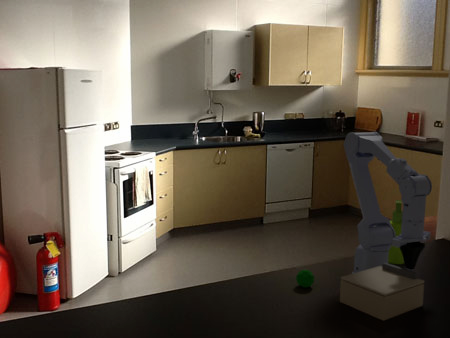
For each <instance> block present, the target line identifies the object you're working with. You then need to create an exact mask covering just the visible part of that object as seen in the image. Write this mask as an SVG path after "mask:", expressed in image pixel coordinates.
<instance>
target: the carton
mask: <svg viewBox="0 0 450 338" xmlns="http://www.w3.org/2000/svg"><path fill="white" fill-rule="evenodd" d="M339 288H340V289H339V290H340V292H339V302H340V303H342V304H345V305H347V306H349V307H352V308H353V309H355V310H358V311H360V312H362V313H364V314H368V315H369V316H372V317H374V318H377V319H379V320H381V321H386V320H389V319H391V318H395V317H397V316H400V315H402V314H405V313H408V312H410V311H412V310H415V309H418V308H420V307H423V304H424V291H425V283H422V284H419V285H416V286H413V287H410V288H407V289H404V290H401V291H398V292H395V293H392V294H390V295H387V296H384V295H381V294H379V293H376V292H373V291H371V290H368V289H366V288H363V287H361V286H358V285H355V284H353V283H350V282H348V281H345V280H342V279H340V286H339Z"/></svg>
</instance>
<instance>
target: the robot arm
mask: <svg viewBox="0 0 450 338" xmlns="http://www.w3.org/2000/svg"><path fill="white" fill-rule="evenodd" d="M345 136H346V137H345V140H344V142H343V147H344V152H345V155H346V159H347V162H348V165H349V168H350V169H349V170H350V172H351V176H352V181H353V185H354V188H355V192H356V196H357V199H358V203H359V207H360V210H361V214H362V215H361V216H362V219H361V220H360V221H359V223H358V224H357V226H356V227H357V239H358V242H359V245H358V246H357V247H356V249H355V251H354V262H353V263H354V264H353V271H351V274H353V273H357V272H360V271H364V270H367V269H371V268H374V267H378V266H382V265H383V263H388V254H389V249H391V245H392V246H394V247H397V248H400V250H401V252H402V255H403V259H404V263H403V264H404V269H407V270H410V271H412V270H415V268H416V266H417V263H418V260H419V257H420V254H422V251H423V250H424V249H425V247H426V244H425V243H424V242H427V241H428V240H431V236H432V235H431V234H432V233H431V232H430V231H426V230H425V218H426V217H425V216H426V207H427V206H426V204H427V196H429V195H430V194H431V192H432V188H433V183H432V181H431V179H430V178H429V177H428V175H426V174H420V173H418V171H417V170H416V169H414V168H413V167H412V166H411V165H410V164H409V163H408V160H406V159H405V158H402V157H401V158H400V157H396V156H395V155H394V154H393V152H392V151H391V150H390V149H389V148H388V146H387V145H386V144H385V143H384V138H383V136H381V135H380V134H379V132H377V131H372V132H353V131H352V132H348V133H347V135H345ZM374 158H376V159H378V161H380V163H382V164H383V165H384V166H386V173H387V174H388V175H389V177H390V178H391V179H392V180H393V181H395V183H396V184H397V185H398V190H399V193H400V195H401V196H400V197H401V199H400V200H401V201H402V226H401V234H400V235H399V236H397V237H396V233H395V230H394V229H393V227H392V226H391V223H390V221H391V219H389V218H388V217H387V216H385V215H384V214H382V212H381V208H380V205H379V201H378V197H377V195H376V190H375V186H374V183H373V179H372V176H371V173H370V168H369V164H370V162H372V161H373V160H374ZM388 264H389V263H388Z"/></svg>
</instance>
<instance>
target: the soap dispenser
mask: <svg viewBox="0 0 450 338" xmlns="http://www.w3.org/2000/svg"><path fill="white" fill-rule="evenodd" d="M402 206H403V203H402V200H401V199H400V200H398V199H396V200H395V210H393V211H392V217H391V218H392V219H390V223H391V226H392V227H393V229H394V230H395V233H396V237H397V236H399V235H400V234H401V226H402V212H403V210H402ZM388 264H391V265H403V264H404V259H403V255H402V252H401V250H400V248H397V247H394V246H392V245H391V249H389V254H388Z"/></svg>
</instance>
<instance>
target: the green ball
mask: <svg viewBox="0 0 450 338" xmlns="http://www.w3.org/2000/svg"><path fill="white" fill-rule="evenodd" d="M295 279H296V281H295V282H296V283H297V284H298V286H300V287H301V288H303V289H306V288H310V287H312V285H313V283H314V282H315V275H314V274H313V272H312V271H311V270H308V269H302V270H299V271H298V273H296V276H295Z"/></svg>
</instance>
